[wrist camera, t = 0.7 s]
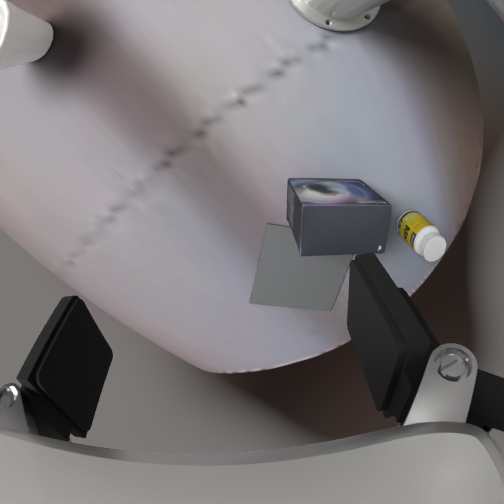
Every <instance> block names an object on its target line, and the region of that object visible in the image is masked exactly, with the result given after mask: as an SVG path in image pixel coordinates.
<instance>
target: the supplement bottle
mask: <svg viewBox="0 0 504 504" xmlns="http://www.w3.org/2000/svg"><path fill="white" fill-rule="evenodd" d="M397 231H398V233H399V234H400V235H401V236H402V238H403V239H404V240H405V241H406V242H407V243H408V244H409V245H410V246H411V247H412V249H413V250H414V251H415V252H416V253H417V254H419V255H421V256H423V257H424V258H425V259H426V260H427V261H429V262H433V261H436V260H438V259H439V258H440V257H441V256H442V255H443V254H444V252H445V249H446V241H445V239H444V238H443V237H442V236H441V235H440V233H439V231H438V229H437V228H436V227H435V226H434V225H433V224H431V223H430V222H429V221H428V220H427V219H426V218H424V217H423V216H422V215H421V214H420V213H418V212H417V211H415V210H408V211H406V212H404V213H403V214H402V215H401V216H400V217H399V219H398V221H397Z"/></svg>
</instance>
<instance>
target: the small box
mask: <svg viewBox="0 0 504 504" xmlns="http://www.w3.org/2000/svg"><path fill="white" fill-rule="evenodd" d="M391 213H392V205H391V204H389V203H388V202H387V201H386V200H385V199H383V198H382V197H381V196H380V195H379V194H377V193H376V192H375V191H374V190H372V189H371V188H370V187H369V186H367V185H366V184H365V183H364V182H362V181H361V180H359V179H322V178H320V179H319V178H289V179H288V189H287V220H288V222H289V225H290V228H291V230H292V233H293V235H294V238H295V241H296V244H297V246H298V249H299V253H300V256H327V255H350V254H366V253H384V252H385V248H386V243H387V237H388V231H389V225H390V220H391Z"/></svg>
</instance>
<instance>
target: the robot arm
mask: <svg viewBox="0 0 504 504" xmlns="http://www.w3.org/2000/svg"><path fill="white" fill-rule="evenodd" d="M388 1H390V0H289V2H290V4H291V5H292V6H293V8H294V9H295V10H296V11H297V12H298V13H299V14H300V15H301V16H302V17H304V18H305V19H306V20H308V21H309V22H311V23H313V24H315V25H317V26H319V27H322V28H325V29H328V30H334V31H351V30H356V29H359V28H361V27H363V26H365V25H367V24H369V23H370V22H371V21H373V19H374V18H375V17H376V15H377V14H378V11H379V9H380V5H382V4H384V3H386V2H388ZM486 1H487V2H488V3H489V4H490V5H491V7H492V8H493V9H494V10H495V11H496V13H497V14H498V15H499V16H500V17H501V19H502V20H503V21H504V0H486ZM365 17H366V19H365ZM326 22H328V23H329V25H327V24H326ZM347 326H348V331H349V334H350V337H351V339H352V342H353V344H354V347H355V350H356V353H357V355H358V358H359V361H360V363H361V366H362V369H363V372H364V374H365V377H366V380H367V383H368V386H369V388H370V391H371V395H372V397H373V400H374V403H375V406H376V409H377V410H378V411H381V410H382V411H383V414H384V416H385V418H388V417H391V416H395V418H396V421H397V422H399V423H400V424H399V426H398V427H393V428H388V429H384V430H380V431H375V432H370V433H365V434H361V435H357V436H352V437H348V438H343V439H338V440H333V441H328V442H322V443H316V444H309V445H303V446H296V447H289V448H281V449H273V450H264V451H253V452H240V453H219V454H171V453H151V452H138V451H126V450H118V449H110V448H102V447H95V446H89V445H83V444H77V443H72V441H71V439H70V437H69V436H70V433H71V434H72V435H73V436H75V437H82V438H86V434H87V431H89V430H90V428H91V425H92V421H93V418H94V415H95V411H96V408H97V404H98V401H99V398H100V395H101V392H102V388H103V385H104V382H105V379H106V376H107V373H108V370H109V367H110V364H111V361H112V358H113V353H112V350H111V348H110V346H109V345H108V343H107V341H106V340H105V338H104V336H103V335H102V333H101V332H100V330H99V328H98V326H97V325H96V323H95V321H94V319H93V318H92V316H91V314H90V312H89V310H88V309H87V307H86V305H85V303H84V301H83V300H81V299H80V298H79V297H78V296H68V297H63V298H62V299H61V300H60V302H59V304H58V305H57V307H56V308H55V310H54V312H53V313H52V315H51V316H50V318H49V320H48V322H47V323H46V325H45V326H44V328H43V330H42V331H41V333H40V335H39V337H38V339H37V340H36V342H35V344H34V346H33V348H32V349H31V351H30V353H29V355H28V357H27V358H26V360H25V362H24V364H23V366H22V368H21V370H20V372H19V374H18V376H17V380H18V381H19V382H20V383H21V384H22V386H21V388H20V387H19V386H18V385H17V384H15V383H8V384H5V385H4V386H2V387H1V388H0V504H504V378H502V377H499V376H496V375H493V374H491V373H488V372H485V371H482V370H479V369H477V361H476V359H475V356H474V355H473V354H472V352H471V351H469V350H468V349H467V348H466V347H464V346H461V345H459V344H453V343H450V344H443V345H441V346H440V345H439V343H438V341H437V340H436V338H435V336H434V335H433V333H432V332H431V330H430V328H429V327H428V325H427V324H426V322H425V320H424V319H423V317H422V316H421V314H420V312H419V311H418V309H417V308H416V306H415V305H414V303H413V302H412V300H411V299H410V297H409V295H408V294H407V292H406V291H405V290H404V289H403V288H397V286H396V285H395V283H394V282H393V280H392V279H391V277H390V276H389V274H388V273H387V271H386V270H385V268H384V267H383V265H382V264H381V263H380V261H379V260H378V258H377V257H376V255H375V254H374V253H366V254H360V255H356V257H355V260H352V261H350V276H349V299H348V315H347Z"/></svg>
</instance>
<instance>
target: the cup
mask: <svg viewBox="0 0 504 504" xmlns="http://www.w3.org/2000/svg"><path fill="white" fill-rule="evenodd" d="M52 40H53V29H52V26H51V25H50V24H49V23H47V22H45V21H43V20H41V19H39V18H37V17H35V16H33V15H31V14H29V13H27V12H25V11H23V10H21V9H19V8H17V7H15V5H14V4H12V3H10V2H9V1H7V0H0V70H1V69H5V68H8V67H12V66H16V65H20V64H24V63H28V62H33V61H35V60H38V59H40V58H41V57H42V56H43V55H45V54H46V52H47V51H48V49H49V48H50V46H51V43H52Z"/></svg>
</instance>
